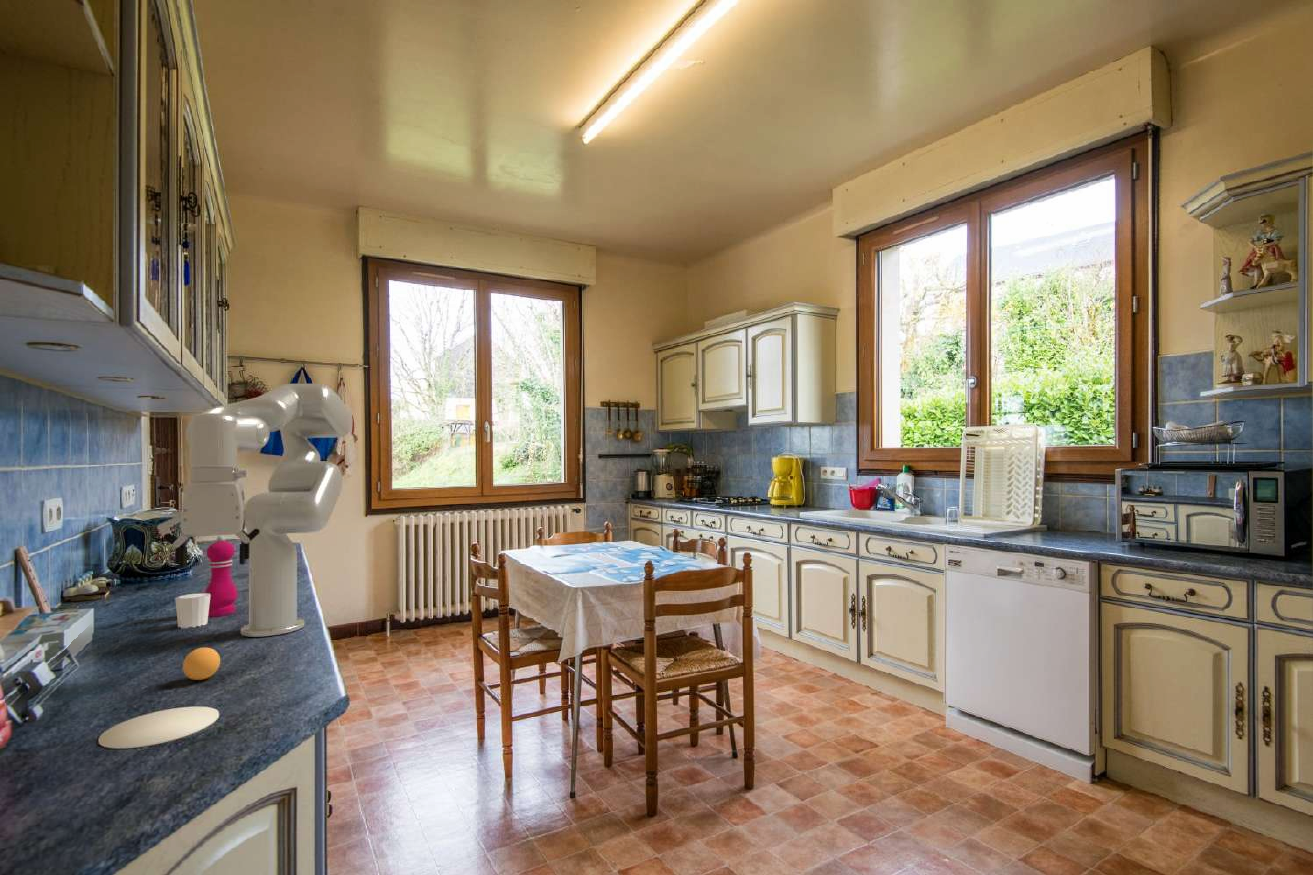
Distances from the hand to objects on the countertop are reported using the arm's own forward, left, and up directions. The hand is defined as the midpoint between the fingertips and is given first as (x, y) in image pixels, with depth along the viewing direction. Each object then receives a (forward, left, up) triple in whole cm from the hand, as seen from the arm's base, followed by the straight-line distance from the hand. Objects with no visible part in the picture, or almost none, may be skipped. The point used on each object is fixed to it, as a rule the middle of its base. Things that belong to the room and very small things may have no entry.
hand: (213, 565), depth 123 cm
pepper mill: (-48, -6, -19) cm, 52 cm away
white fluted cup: (-38, -10, -19) cm, 44 cm away
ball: (+9, 0, -16) cm, 19 cm away
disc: (+31, -1, -19) cm, 36 cm away
